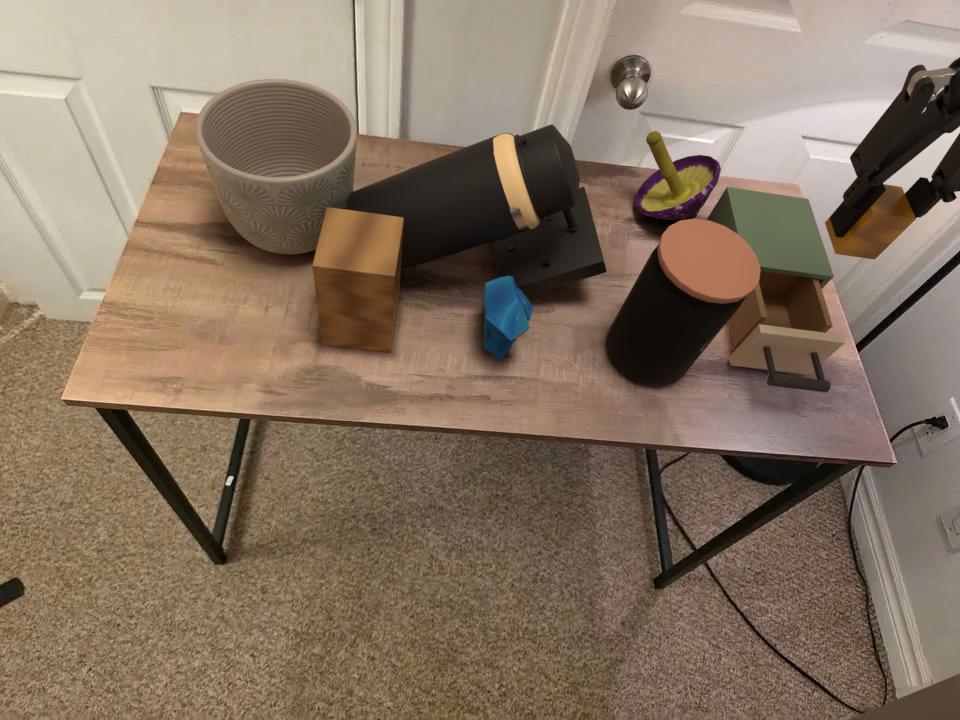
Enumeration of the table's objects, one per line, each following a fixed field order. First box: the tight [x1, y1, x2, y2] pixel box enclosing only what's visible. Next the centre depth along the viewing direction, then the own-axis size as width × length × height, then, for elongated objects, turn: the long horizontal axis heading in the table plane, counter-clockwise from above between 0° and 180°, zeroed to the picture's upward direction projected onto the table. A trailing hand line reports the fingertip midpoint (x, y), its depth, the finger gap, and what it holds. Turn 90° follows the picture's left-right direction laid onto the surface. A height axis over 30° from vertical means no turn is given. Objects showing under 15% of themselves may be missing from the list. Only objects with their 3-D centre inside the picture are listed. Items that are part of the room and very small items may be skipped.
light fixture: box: [347, 124, 607, 297], centre depth 76 cm, size 13×18×26 cm
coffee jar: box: [607, 218, 761, 386], centre depth 72 cm, size 11×11×18 cm
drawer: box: [728, 271, 846, 393], centre depth 78 cm, size 18×10×7 cm, turn 177°
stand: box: [312, 207, 404, 353], centre depth 70 cm, size 8×8×14 cm
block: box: [824, 183, 917, 261], centre depth 65 cm, size 4×4×6 cm
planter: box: [194, 78, 358, 255], centre depth 75 cm, size 17×17×15 cm
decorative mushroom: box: [633, 130, 722, 221], centre depth 89 cm, size 12×12×15 cm
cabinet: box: [706, 186, 835, 290], centre depth 85 cm, size 14×12×9 cm
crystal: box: [482, 276, 535, 361], centre depth 73 cm, size 7×9×12 cm
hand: (859, 230), depth 66 cm, fingers closed on block, 4 cm apart
